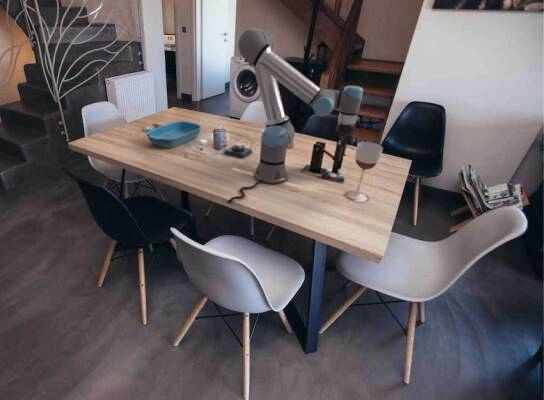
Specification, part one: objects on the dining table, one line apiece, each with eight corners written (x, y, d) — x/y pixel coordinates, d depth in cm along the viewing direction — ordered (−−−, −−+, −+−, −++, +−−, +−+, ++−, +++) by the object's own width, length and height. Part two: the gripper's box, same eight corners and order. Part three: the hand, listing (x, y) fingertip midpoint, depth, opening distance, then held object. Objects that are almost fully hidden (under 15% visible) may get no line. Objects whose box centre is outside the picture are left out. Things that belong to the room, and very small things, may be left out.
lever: (339, 161, 148) (342, 157, 147) (336, 165, 144) (339, 161, 142) (317, 145, 151) (319, 141, 149) (313, 149, 146) (316, 145, 145)
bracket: (327, 171, 155) (333, 143, 147) (323, 177, 149) (329, 148, 141) (306, 166, 159) (311, 139, 152) (301, 172, 154) (305, 143, 146)
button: (239, 149, 169) (239, 146, 169) (233, 147, 171) (233, 144, 170) (243, 146, 172) (243, 144, 172) (237, 145, 174) (237, 142, 173)
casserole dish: (168, 153, 172) (167, 140, 168) (140, 144, 183) (138, 133, 179) (207, 136, 198) (207, 125, 195) (181, 129, 209) (180, 119, 205)
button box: (243, 158, 167) (243, 151, 165) (224, 153, 173) (224, 147, 171) (251, 152, 175) (252, 146, 173) (233, 148, 180) (233, 142, 178)
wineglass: (361, 191, 137) (375, 141, 126) (371, 202, 129) (387, 150, 117) (341, 191, 137) (353, 141, 125) (350, 202, 128) (364, 150, 117)
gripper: (350, 130, 128) (339, 180, 139) (359, 119, 142) (348, 166, 153) (332, 126, 131) (322, 175, 143) (342, 117, 145) (333, 162, 157)
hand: (336, 170), depth 148 cm, fingers closed on lever, 5 cm apart
